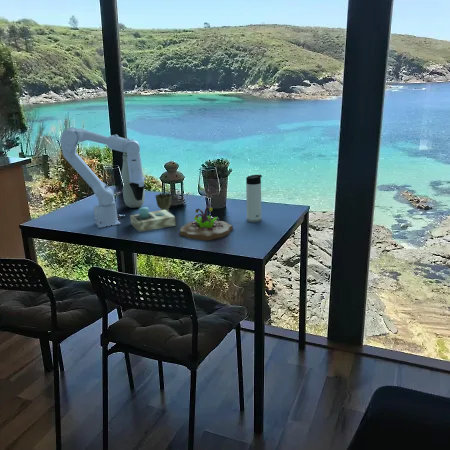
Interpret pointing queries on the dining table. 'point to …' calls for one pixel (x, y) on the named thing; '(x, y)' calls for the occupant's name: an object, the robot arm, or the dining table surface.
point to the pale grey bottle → (128, 192)
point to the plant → (205, 227)
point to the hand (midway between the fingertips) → (138, 199)
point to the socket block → (153, 220)
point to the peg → (144, 212)
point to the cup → (163, 201)
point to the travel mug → (253, 198)
